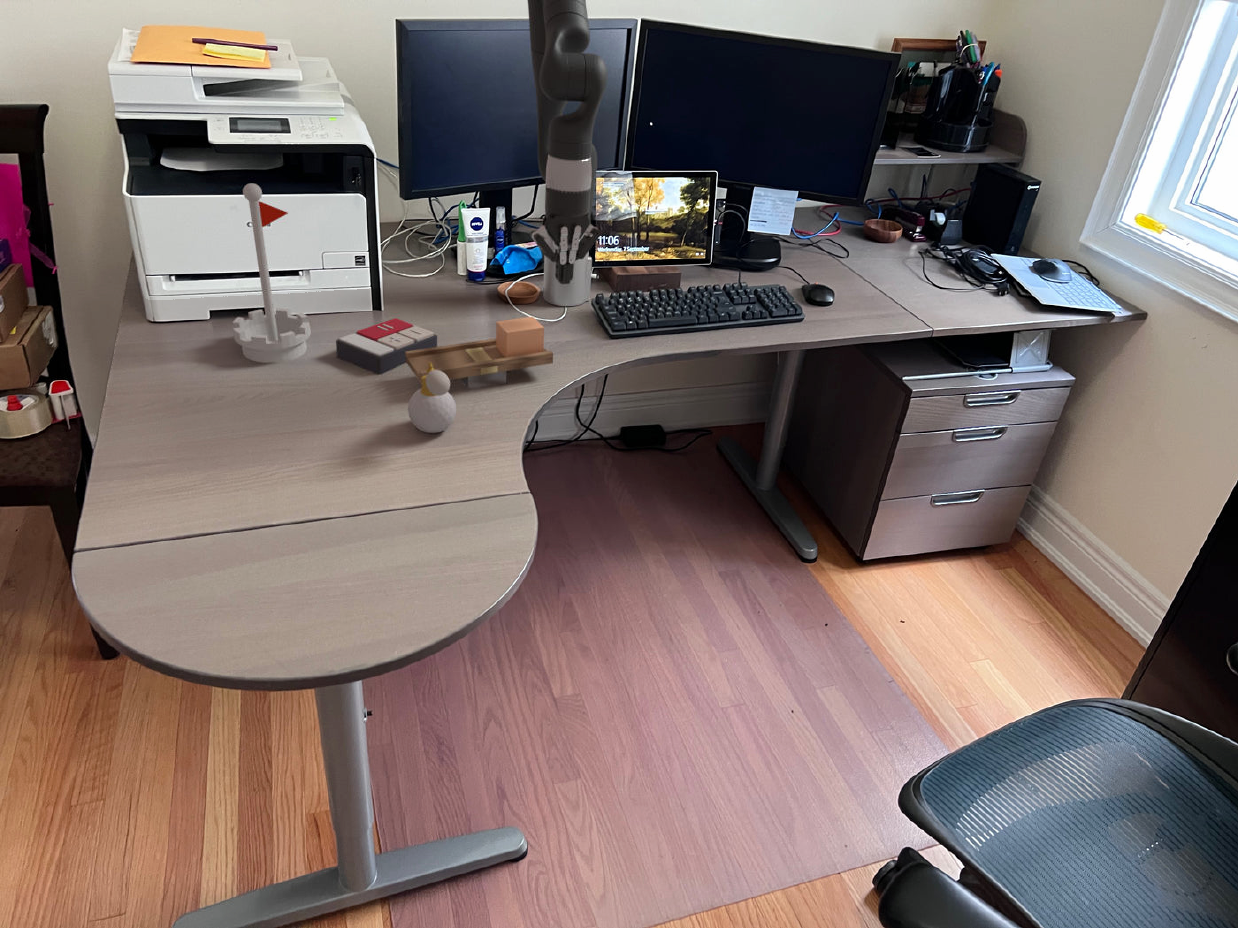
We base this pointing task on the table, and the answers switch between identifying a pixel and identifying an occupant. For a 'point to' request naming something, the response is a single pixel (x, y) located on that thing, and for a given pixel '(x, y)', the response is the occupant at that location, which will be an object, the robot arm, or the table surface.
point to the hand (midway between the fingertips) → (563, 282)
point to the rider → (519, 336)
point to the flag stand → (268, 302)
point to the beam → (472, 362)
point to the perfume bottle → (432, 403)
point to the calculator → (383, 345)
